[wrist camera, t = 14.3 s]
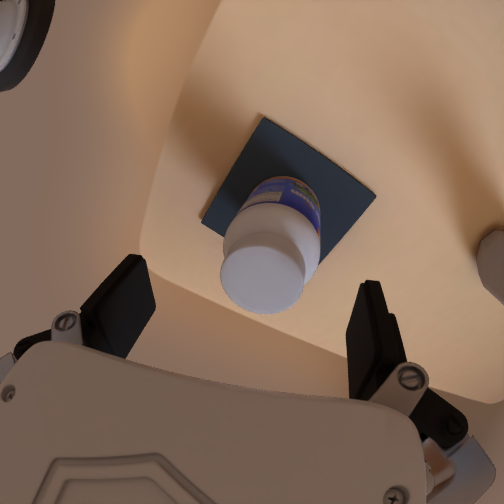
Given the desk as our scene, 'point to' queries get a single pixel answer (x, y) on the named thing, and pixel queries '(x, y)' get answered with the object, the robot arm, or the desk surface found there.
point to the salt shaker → (492, 264)
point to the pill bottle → (272, 246)
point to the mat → (296, 166)
